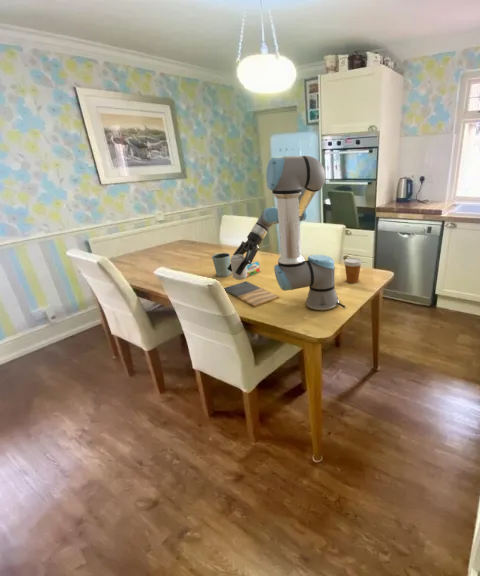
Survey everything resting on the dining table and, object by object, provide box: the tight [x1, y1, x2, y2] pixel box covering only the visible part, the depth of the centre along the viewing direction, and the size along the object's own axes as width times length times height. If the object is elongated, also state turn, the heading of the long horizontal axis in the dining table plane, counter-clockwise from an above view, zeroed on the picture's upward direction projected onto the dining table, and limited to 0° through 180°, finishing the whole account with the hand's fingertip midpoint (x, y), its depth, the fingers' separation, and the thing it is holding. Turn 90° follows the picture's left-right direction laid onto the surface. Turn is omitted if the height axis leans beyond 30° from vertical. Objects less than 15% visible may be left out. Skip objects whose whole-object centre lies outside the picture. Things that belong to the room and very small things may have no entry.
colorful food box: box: [246, 261, 261, 277], centre depth 190 cm, size 12×2×6 cm, turn 145°
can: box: [230, 254, 248, 281], centre depth 164 cm, size 8×8×12 cm
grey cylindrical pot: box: [211, 252, 232, 278], centre depth 189 cm, size 10×10×12 cm
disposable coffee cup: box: [343, 257, 362, 284], centre depth 174 cm, size 10×10×12 cm
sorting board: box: [223, 280, 279, 308], centre depth 163 cm, size 30×14×1 cm, turn 44°
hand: (233, 272), depth 163 cm, fingers closed on can, 7 cm apart
